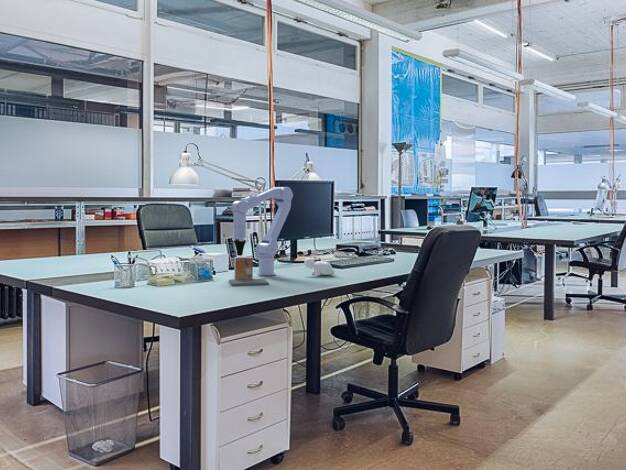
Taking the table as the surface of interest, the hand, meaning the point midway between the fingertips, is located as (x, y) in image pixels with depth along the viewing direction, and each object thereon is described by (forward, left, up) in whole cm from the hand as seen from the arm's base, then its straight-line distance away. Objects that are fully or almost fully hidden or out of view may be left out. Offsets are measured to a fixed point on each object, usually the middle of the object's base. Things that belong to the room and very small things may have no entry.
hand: (239, 255), depth 274 cm
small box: (+8, +1, -11) cm, 13 cm away
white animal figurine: (+1, +38, -11) cm, 40 cm away
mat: (+18, +2, -10) cm, 21 cm away
